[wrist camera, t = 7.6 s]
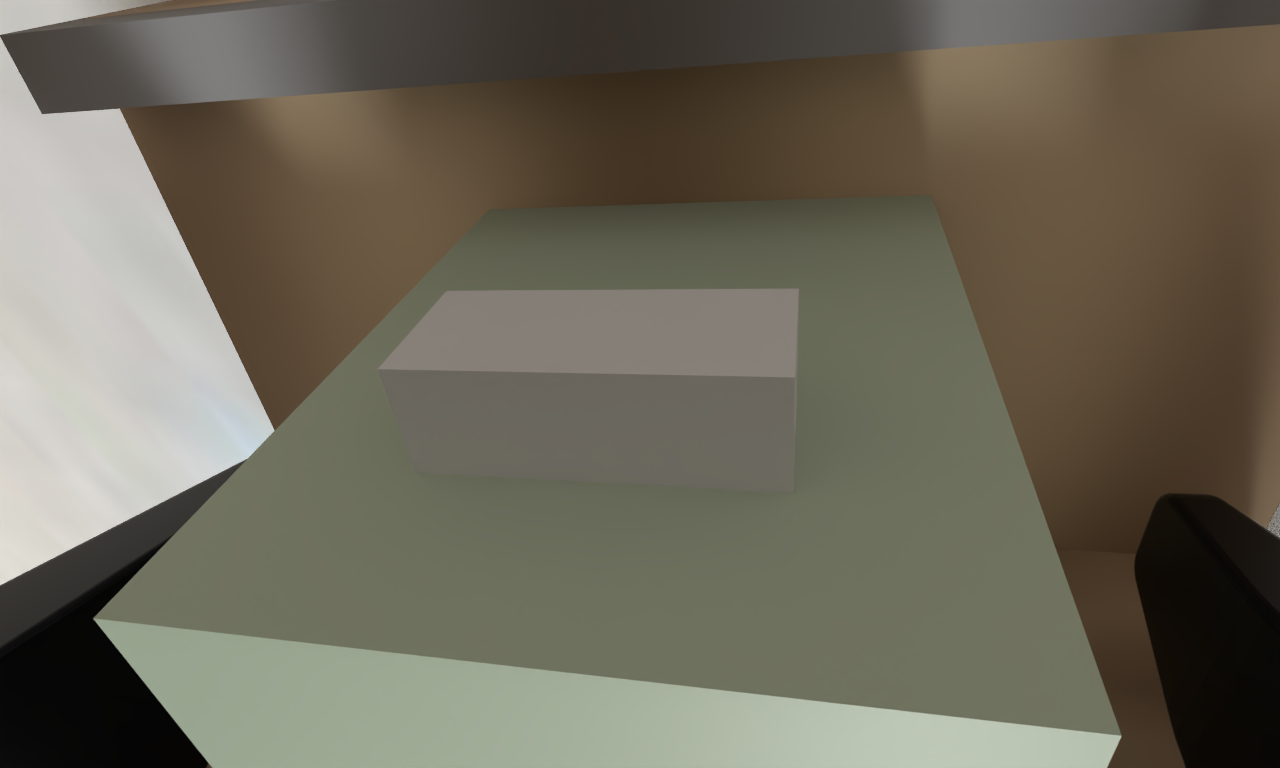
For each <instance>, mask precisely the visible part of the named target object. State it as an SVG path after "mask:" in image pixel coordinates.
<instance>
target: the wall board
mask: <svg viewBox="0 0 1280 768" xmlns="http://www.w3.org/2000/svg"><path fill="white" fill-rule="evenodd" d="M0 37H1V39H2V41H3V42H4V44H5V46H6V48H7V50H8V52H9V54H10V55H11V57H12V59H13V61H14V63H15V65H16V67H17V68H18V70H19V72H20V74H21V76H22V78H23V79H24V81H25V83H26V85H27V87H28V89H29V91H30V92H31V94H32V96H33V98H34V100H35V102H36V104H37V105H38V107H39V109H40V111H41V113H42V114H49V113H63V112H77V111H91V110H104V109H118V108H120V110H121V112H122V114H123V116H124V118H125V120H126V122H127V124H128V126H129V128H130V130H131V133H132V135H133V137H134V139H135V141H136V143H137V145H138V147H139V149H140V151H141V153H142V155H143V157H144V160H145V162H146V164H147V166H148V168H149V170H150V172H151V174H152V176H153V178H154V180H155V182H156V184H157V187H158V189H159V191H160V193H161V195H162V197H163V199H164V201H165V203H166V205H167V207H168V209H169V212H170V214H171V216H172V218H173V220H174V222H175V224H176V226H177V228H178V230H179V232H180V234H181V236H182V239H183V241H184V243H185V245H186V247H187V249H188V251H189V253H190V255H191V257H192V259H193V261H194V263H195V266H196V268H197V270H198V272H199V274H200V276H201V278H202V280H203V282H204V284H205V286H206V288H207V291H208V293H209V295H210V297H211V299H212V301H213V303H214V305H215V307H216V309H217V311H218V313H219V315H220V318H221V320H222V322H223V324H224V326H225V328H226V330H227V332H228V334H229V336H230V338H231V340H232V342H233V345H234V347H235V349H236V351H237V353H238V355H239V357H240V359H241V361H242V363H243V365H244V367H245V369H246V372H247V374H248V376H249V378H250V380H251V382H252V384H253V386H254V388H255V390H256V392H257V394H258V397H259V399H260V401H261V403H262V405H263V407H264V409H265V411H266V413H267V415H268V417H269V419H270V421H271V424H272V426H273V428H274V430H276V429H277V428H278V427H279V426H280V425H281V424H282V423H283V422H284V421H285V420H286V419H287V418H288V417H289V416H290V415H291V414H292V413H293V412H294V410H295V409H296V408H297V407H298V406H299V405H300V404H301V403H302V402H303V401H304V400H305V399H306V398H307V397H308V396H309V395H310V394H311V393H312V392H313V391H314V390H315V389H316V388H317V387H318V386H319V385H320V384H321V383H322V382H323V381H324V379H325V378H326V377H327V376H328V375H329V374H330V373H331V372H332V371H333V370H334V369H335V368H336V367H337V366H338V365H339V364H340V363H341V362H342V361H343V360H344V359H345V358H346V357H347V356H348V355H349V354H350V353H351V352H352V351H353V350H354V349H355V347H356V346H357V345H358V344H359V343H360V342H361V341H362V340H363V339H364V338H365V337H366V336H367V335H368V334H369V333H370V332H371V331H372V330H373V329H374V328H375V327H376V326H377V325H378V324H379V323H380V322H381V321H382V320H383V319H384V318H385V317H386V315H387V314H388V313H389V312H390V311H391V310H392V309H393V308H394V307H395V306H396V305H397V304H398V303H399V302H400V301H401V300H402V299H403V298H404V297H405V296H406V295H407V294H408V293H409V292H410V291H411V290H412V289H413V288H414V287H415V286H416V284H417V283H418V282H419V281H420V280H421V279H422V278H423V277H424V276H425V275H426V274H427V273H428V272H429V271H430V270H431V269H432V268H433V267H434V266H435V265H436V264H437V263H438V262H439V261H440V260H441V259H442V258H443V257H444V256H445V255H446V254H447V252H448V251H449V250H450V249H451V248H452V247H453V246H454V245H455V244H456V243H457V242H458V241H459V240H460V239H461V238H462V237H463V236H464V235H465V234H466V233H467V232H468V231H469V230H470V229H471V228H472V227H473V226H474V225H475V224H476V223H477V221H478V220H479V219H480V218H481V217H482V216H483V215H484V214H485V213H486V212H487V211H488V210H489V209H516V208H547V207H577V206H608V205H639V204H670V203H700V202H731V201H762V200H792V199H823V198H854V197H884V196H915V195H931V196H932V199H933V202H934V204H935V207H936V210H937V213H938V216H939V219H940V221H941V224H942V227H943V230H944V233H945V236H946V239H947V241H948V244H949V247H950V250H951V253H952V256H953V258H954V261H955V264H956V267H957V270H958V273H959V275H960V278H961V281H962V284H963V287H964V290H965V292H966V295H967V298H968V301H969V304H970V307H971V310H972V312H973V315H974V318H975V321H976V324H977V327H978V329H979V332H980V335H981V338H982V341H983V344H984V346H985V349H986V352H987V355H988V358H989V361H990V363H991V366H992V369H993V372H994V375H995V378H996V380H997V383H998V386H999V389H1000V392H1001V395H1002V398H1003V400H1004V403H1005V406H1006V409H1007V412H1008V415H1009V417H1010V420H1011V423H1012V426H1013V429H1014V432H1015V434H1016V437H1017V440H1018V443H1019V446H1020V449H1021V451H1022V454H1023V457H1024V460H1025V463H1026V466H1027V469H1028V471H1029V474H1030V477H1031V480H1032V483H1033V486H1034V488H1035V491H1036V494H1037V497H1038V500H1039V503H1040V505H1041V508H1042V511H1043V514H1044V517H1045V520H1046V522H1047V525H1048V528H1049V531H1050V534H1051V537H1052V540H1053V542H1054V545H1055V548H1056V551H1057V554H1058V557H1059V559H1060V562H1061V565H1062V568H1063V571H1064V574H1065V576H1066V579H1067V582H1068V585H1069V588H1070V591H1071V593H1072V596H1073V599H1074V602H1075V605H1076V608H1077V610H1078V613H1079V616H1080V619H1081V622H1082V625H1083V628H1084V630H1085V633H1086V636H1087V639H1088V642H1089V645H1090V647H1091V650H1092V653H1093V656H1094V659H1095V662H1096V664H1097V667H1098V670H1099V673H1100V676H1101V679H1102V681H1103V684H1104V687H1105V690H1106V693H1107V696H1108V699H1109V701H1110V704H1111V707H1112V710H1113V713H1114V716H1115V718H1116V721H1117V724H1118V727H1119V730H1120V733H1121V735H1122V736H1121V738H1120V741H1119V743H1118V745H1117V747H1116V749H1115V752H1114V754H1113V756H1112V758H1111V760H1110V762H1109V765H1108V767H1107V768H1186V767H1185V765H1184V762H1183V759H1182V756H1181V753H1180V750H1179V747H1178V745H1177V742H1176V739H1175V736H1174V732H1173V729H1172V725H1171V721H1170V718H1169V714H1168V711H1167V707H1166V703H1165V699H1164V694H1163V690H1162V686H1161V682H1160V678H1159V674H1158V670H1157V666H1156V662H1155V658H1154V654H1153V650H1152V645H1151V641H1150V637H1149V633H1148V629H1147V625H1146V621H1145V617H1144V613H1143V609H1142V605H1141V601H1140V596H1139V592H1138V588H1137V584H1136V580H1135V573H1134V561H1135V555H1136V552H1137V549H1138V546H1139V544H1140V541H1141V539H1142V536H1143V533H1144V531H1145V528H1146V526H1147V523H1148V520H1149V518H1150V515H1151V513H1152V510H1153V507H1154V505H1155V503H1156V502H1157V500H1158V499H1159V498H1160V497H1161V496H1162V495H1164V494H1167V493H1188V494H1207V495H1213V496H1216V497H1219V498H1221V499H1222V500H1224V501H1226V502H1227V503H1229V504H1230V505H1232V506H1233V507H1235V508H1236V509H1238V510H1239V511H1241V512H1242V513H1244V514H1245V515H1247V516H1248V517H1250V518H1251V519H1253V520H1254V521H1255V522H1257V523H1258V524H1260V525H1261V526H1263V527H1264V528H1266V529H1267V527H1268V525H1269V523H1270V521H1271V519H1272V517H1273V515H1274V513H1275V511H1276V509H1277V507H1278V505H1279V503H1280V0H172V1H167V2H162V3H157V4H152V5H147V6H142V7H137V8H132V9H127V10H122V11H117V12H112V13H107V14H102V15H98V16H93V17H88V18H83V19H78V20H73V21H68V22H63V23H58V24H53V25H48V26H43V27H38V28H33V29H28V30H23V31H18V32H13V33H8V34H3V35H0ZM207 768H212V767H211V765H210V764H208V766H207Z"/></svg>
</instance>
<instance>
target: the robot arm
mask: <svg viewBox="0 0 1280 768" xmlns="http://www.w3.org/2000/svg"><path fill="white" fill-rule="evenodd" d="M246 460H247V459H246ZM246 460H244V461H242V462H240V463H238V464H236V465H234V466H232V467H230V468H229V469H227V470H225V471H223V472H221V473H219V474H217V475H215V476H213V477H211V478H209V479H207V480H205V481H203V482H201V483H199V484H197V485H195V486H193V487H191V488H189V489H188V490H186V491H184V492H182V493H180V494H178V495H176V496H174V497H172V498H170V499H168V500H166V501H164V502H162V503H160V504H158V505H156V506H154V507H152V508H150V509H148V510H147V511H145V512H143V513H141V514H139V515H137V516H135V517H133V518H131V519H129V520H127V521H125V522H123V523H121V524H119V525H117V526H115V527H113V528H111V529H109V530H107V531H106V532H104V533H102V534H100V535H98V536H96V537H94V538H92V539H90V540H88V541H86V542H84V543H82V544H80V545H78V546H76V547H74V548H72V549H70V550H68V551H66V552H65V553H63V554H61V555H59V556H57V557H55V558H53V559H51V560H49V561H47V562H45V563H43V564H41V565H39V566H37V567H35V568H33V569H31V570H29V571H27V572H25V573H24V574H22V575H20V576H18V577H16V578H14V579H12V580H10V581H8V582H6V583H4V584H2V585H0V768H207V766H208V764H209V763H208V762H207V760H206V759H205V758H204V757H203V755H202V754H201V753H200V752H199V750H198V749H197V748H196V747H195V745H194V744H193V743H192V742H191V740H190V739H189V738H188V737H187V735H186V734H185V733H184V732H183V730H182V729H181V728H180V727H179V725H178V724H177V723H176V722H175V720H174V719H173V718H172V717H171V715H170V714H169V713H168V712H167V710H166V709H165V708H164V707H163V705H162V704H161V703H160V702H159V700H158V699H157V698H156V697H155V695H154V694H153V693H152V692H151V690H150V689H149V688H148V687H147V685H146V684H145V683H144V682H143V680H142V679H141V678H140V677H139V675H138V674H137V673H136V672H135V670H134V669H133V668H132V667H131V665H130V664H129V663H128V662H127V660H126V659H125V658H124V657H123V655H122V654H121V653H120V652H119V650H118V649H117V648H116V647H115V645H114V644H113V643H112V642H111V640H110V639H109V638H108V637H107V635H106V634H105V633H104V632H103V630H102V629H101V628H100V627H99V625H98V624H97V623H96V621H95V620H94V619H93V618H94V617H95V616H96V615H97V614H98V613H99V612H100V611H101V610H102V609H103V608H104V607H105V606H106V605H107V604H108V603H109V602H110V600H111V599H112V598H113V597H114V596H115V595H116V594H117V593H118V592H119V591H120V590H121V589H122V588H123V587H124V586H125V585H126V584H127V583H128V582H129V581H130V580H131V579H132V578H133V577H134V576H135V575H136V574H137V573H138V572H139V571H140V570H141V568H142V567H143V566H144V565H145V564H146V563H147V562H148V561H149V560H150V559H151V558H152V557H153V556H154V555H155V554H156V553H157V552H158V551H159V550H160V549H161V548H162V547H163V546H164V545H165V544H166V543H167V542H168V541H169V540H170V539H171V538H172V536H173V535H174V534H175V533H176V532H177V531H178V530H179V529H180V528H181V527H182V526H183V525H184V524H185V523H186V522H187V521H188V520H189V519H190V518H191V517H192V516H193V515H194V514H195V513H196V512H197V511H198V510H199V509H200V508H201V507H202V505H203V504H204V503H205V502H206V501H207V500H208V499H209V498H210V497H211V496H212V495H213V494H214V493H215V492H216V491H217V490H218V489H219V488H220V487H221V486H222V485H223V484H224V483H225V482H226V481H227V480H228V479H229V478H230V477H231V476H232V475H233V473H234V472H235V471H236V470H237V469H238V468H239V467H240V466H241V465H242V464H243V463H244V462H245V461H246ZM1134 573H1135V580H1136V584H1137V588H1138V592H1139V596H1140V601H1141V605H1142V609H1143V613H1144V617H1145V621H1146V625H1147V629H1148V633H1149V637H1150V641H1151V645H1152V650H1153V654H1154V658H1155V662H1156V666H1157V670H1158V674H1159V678H1160V682H1161V686H1162V690H1163V694H1164V699H1165V703H1166V707H1167V711H1168V714H1169V718H1170V721H1171V725H1172V729H1173V732H1174V736H1175V739H1176V742H1177V745H1178V747H1179V750H1180V753H1181V756H1182V759H1183V762H1184V765H1185V767H1186V768H1280V538H1279V537H1278V536H1276V535H1275V534H1273V533H1272V532H1270V531H1269V530H1267V529H1266V528H1264V527H1263V526H1261V525H1260V524H1258V523H1257V522H1255V521H1254V520H1253V519H1251V518H1250V517H1248V516H1247V515H1245V514H1244V513H1242V512H1241V511H1239V510H1238V509H1236V508H1235V507H1233V506H1232V505H1230V504H1229V503H1227V502H1226V501H1224V500H1222V499H1221V498H1219V497H1216V496H1213V495H1207V494H1188V493H1167V494H1164V495H1162V496H1161V497H1160V498H1159V499H1158V500H1157V502H1156V503H1155V505H1154V507H1153V510H1152V513H1151V515H1150V518H1149V520H1148V523H1147V526H1146V528H1145V531H1144V533H1143V536H1142V539H1141V541H1140V544H1139V546H1138V549H1137V552H1136V555H1135V561H1134Z"/></svg>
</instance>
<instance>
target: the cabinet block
mask: <svg viewBox="0 0 1280 768" xmlns="http://www.w3.org/2000/svg"><path fill="white" fill-rule="evenodd" d="M93 619H94V620H95V621H96V623H97V624H98V625H99V627H100V628H101V629H102V630H103V632H104V633H105V634H106V635H107V637H108V638H109V639H110V640H111V642H112V643H113V644H114V645H115V647H116V648H117V649H118V650H119V652H120V653H121V654H122V655H123V657H124V658H125V659H126V660H127V662H128V663H129V664H130V665H131V667H132V668H133V669H134V670H135V672H136V673H137V674H138V675H139V677H140V678H141V679H142V680H143V682H144V683H145V684H146V685H147V687H148V688H149V689H150V690H151V692H152V693H153V694H154V695H155V697H156V698H157V699H158V700H159V702H160V703H161V704H162V705H163V707H164V708H165V709H166V710H167V712H168V713H169V714H170V715H171V717H172V718H173V719H174V720H175V722H176V723H177V724H178V725H179V727H180V728H181V729H182V730H183V732H184V733H185V734H186V735H187V737H188V738H189V739H190V740H191V742H192V743H193V744H194V745H195V747H196V748H197V749H198V750H199V752H200V753H201V754H202V755H203V757H204V758H205V759H206V760H207V762H208V763H209V764H210V765H211V767H212V768H1107V767H1108V765H1109V762H1110V760H1111V758H1112V756H1113V754H1114V752H1115V749H1116V747H1117V745H1118V743H1119V741H1120V738H1121V736H1122V735H1121V733H1120V730H1119V727H1118V724H1117V721H1116V718H1115V716H1114V713H1113V710H1112V707H1111V704H1110V701H1109V699H1108V696H1107V693H1106V690H1105V687H1104V684H1103V681H1102V679H1101V676H1100V673H1099V670H1098V667H1097V664H1096V662H1095V659H1094V656H1093V653H1092V650H1091V647H1090V645H1089V642H1088V639H1087V636H1086V633H1085V630H1084V628H1083V625H1082V622H1081V619H1080V616H1079V613H1078V610H1077V608H1076V605H1075V602H1074V599H1073V596H1072V593H1071V591H1070V588H1069V585H1068V582H1067V579H1066V576H1065V574H1064V571H1063V568H1062V565H1061V562H1060V559H1059V557H1058V554H1057V551H1056V548H1055V545H1054V542H1053V540H1052V537H1051V534H1050V531H1049V528H1048V525H1047V522H1046V520H1045V517H1044V514H1043V511H1042V508H1041V505H1040V503H1039V500H1038V497H1037V494H1036V491H1035V488H1034V486H1033V483H1032V480H1031V477H1030V474H1029V471H1028V469H1027V466H1026V463H1025V460H1024V457H1023V454H1022V451H1021V449H1020V446H1019V443H1018V440H1017V437H1016V434H1015V432H1014V429H1013V426H1012V423H1011V420H1010V417H1009V415H1008V412H1007V409H1006V406H1005V403H1004V400H1003V398H1002V395H1001V392H1000V389H999V386H998V383H997V380H996V378H995V375H994V372H993V369H992V366H991V363H990V361H989V358H988V355H987V352H986V349H985V346H984V344H983V341H982V338H981V335H980V332H979V329H978V327H977V324H976V321H975V318H974V315H973V312H972V310H971V307H970V304H969V301H968V298H967V295H966V292H965V290H964V287H963V284H962V281H961V278H960V275H959V273H958V270H957V267H956V264H955V261H954V258H953V256H952V253H951V250H950V247H949V244H948V241H947V239H946V236H945V233H944V230H943V227H942V224H941V221H940V219H939V216H938V213H937V210H936V207H935V204H934V202H933V199H932V196H931V195H915V196H884V197H854V198H823V199H792V200H762V201H731V202H700V203H670V204H639V205H608V206H577V207H547V208H516V209H489V210H488V211H487V212H486V213H485V214H484V215H483V216H482V217H481V218H480V219H479V220H478V221H477V223H476V224H475V225H474V226H473V227H472V228H471V229H470V230H469V231H468V232H467V233H466V234H465V235H464V236H463V237H462V238H461V239H460V240H459V241H458V242H457V243H456V244H455V245H454V246H453V247H452V248H451V249H450V250H449V251H448V252H447V254H446V255H445V256H444V257H443V258H442V259H441V260H440V261H439V262H438V263H437V264H436V265H435V266H434V267H433V268H432V269H431V270H430V271H429V272H428V273H427V274H426V275H425V276H424V277H423V278H422V279H421V280H420V281H419V282H418V283H417V284H416V286H415V287H414V288H413V289H412V290H411V291H410V292H409V293H408V294H407V295H406V296H405V297H404V298H403V299H402V300H401V301H400V302H399V303H398V304H397V305H396V306H395V307H394V308H393V309H392V310H391V311H390V312H389V313H388V314H387V315H386V317H385V318H384V319H383V320H382V321H381V322H380V323H379V324H378V325H377V326H376V327H375V328H374V329H373V330H372V331H371V332H370V333H369V334H368V335H367V336H366V337H365V338H364V339H363V340H362V341H361V342H360V343H359V344H358V345H357V346H356V347H355V349H354V350H353V351H352V352H351V353H350V354H349V355H348V356H347V357H346V358H345V359H344V360H343V361H342V362H341V363H340V364H339V365H338V366H337V367H336V368H335V369H334V370H333V371H332V372H331V373H330V374H329V375H328V376H327V377H326V378H325V379H324V381H323V382H322V383H321V384H320V385H319V386H318V387H317V388H316V389H315V390H314V391H313V392H312V393H311V394H310V395H309V396H308V397H307V398H306V399H305V400H304V401H303V402H302V403H301V404H300V405H299V406H298V407H297V408H296V409H295V410H294V412H293V413H292V414H291V415H290V416H289V417H288V418H287V419H286V420H285V421H284V422H283V423H282V424H281V425H280V426H279V427H278V428H277V429H276V430H275V431H274V432H273V433H272V434H271V435H270V436H269V437H268V438H267V439H266V440H265V441H264V442H263V444H262V445H261V446H260V447H259V448H258V449H257V450H256V451H255V452H254V453H253V454H252V455H251V456H250V457H249V458H248V459H247V460H246V461H245V462H244V463H243V464H242V465H241V466H240V467H239V468H238V469H237V470H236V471H235V472H234V473H233V475H232V476H231V477H230V478H229V479H228V480H227V481H226V482H225V483H224V484H223V485H222V486H221V487H220V488H219V489H218V490H217V491H216V492H215V493H214V494H213V495H212V496H211V497H210V498H209V499H208V500H207V501H206V502H205V503H204V504H203V505H202V507H201V508H200V509H199V510H198V511H197V512H196V513H195V514H194V515H193V516H192V517H191V518H190V519H189V520H188V521H187V522H186V523H185V524H184V525H183V526H182V527H181V528H180V529H179V530H178V531H177V532H176V533H175V534H174V535H173V536H172V538H171V539H170V540H169V541H168V542H167V543H166V544H165V545H164V546H163V547H162V548H161V549H160V550H159V551H158V552H157V553H156V554H155V555H154V556H153V557H152V558H151V559H150V560H149V561H148V562H147V563H146V564H145V565H144V566H143V567H142V568H141V570H140V571H139V572H138V573H137V574H136V575H135V576H134V577H133V578H132V579H131V580H130V581H129V582H128V583H127V584H126V585H125V586H124V587H123V588H122V589H121V590H120V591H119V592H118V593H117V594H116V595H115V596H114V597H113V598H112V599H111V600H110V602H109V603H108V604H107V605H106V606H105V607H104V608H103V609H102V610H101V611H100V612H99V613H98V614H97V615H96V616H95V617H94V618H93Z"/></svg>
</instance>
